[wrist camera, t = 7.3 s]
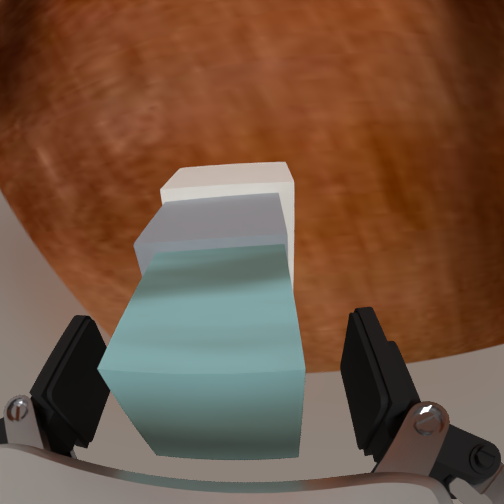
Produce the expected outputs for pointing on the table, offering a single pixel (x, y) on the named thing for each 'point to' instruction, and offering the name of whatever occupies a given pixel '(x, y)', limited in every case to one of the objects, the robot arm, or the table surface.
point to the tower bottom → (237, 188)
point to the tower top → (213, 225)
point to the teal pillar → (212, 355)
